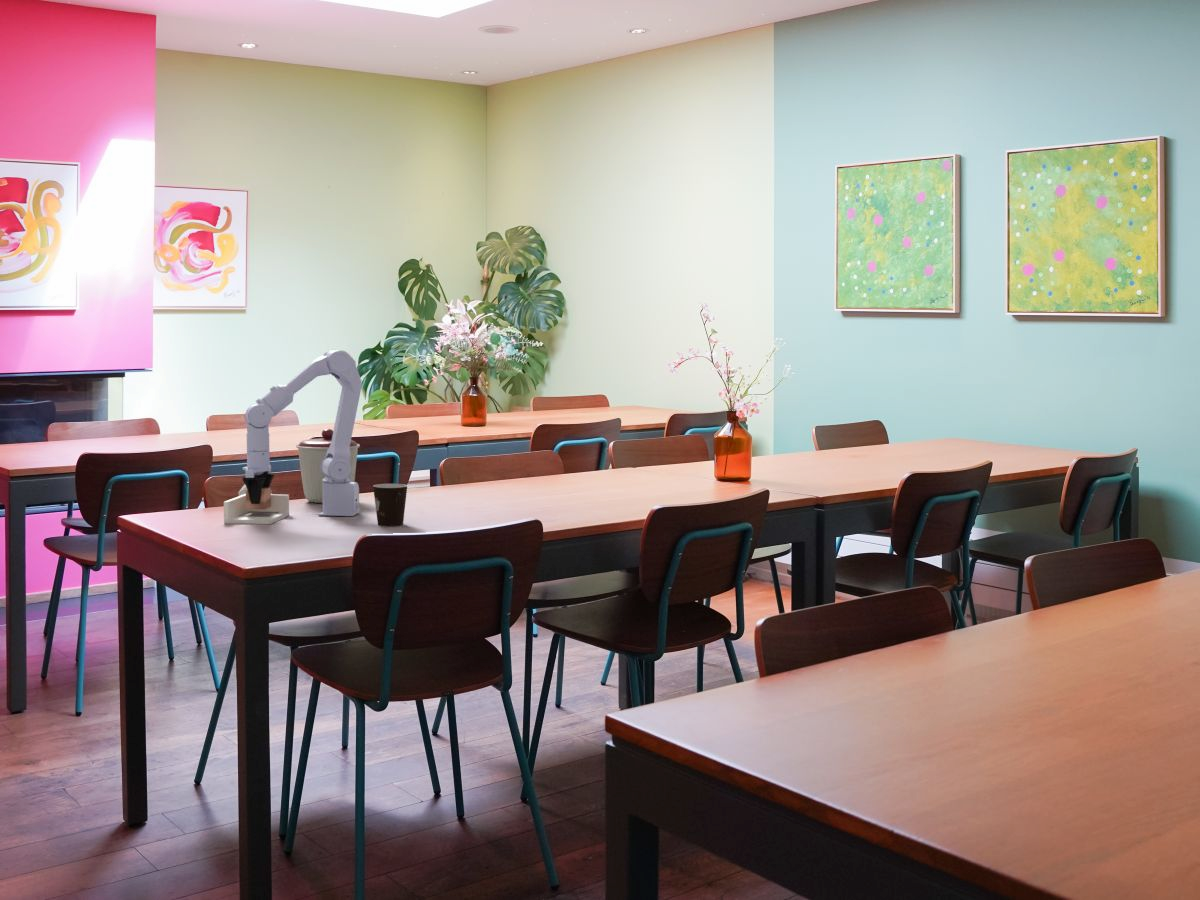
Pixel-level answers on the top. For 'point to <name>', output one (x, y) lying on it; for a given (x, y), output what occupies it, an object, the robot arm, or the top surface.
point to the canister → (319, 464)
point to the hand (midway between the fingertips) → (258, 502)
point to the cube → (264, 501)
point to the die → (244, 490)
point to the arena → (255, 511)
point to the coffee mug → (390, 503)
